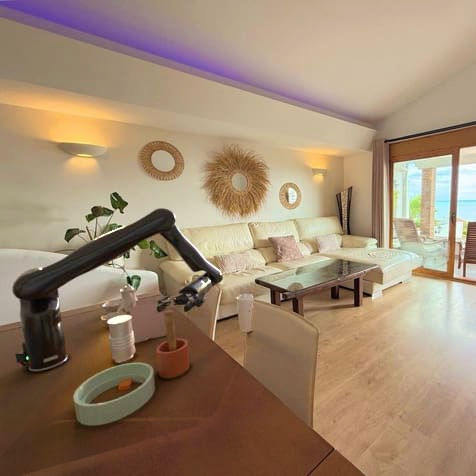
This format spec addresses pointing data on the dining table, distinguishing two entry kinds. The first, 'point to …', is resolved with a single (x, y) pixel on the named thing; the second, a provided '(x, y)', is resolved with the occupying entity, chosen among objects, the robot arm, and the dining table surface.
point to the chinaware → (120, 304)
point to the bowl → (117, 407)
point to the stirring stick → (170, 330)
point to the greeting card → (147, 321)
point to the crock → (172, 359)
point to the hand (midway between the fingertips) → (171, 309)
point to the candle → (121, 338)
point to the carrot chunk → (125, 384)
